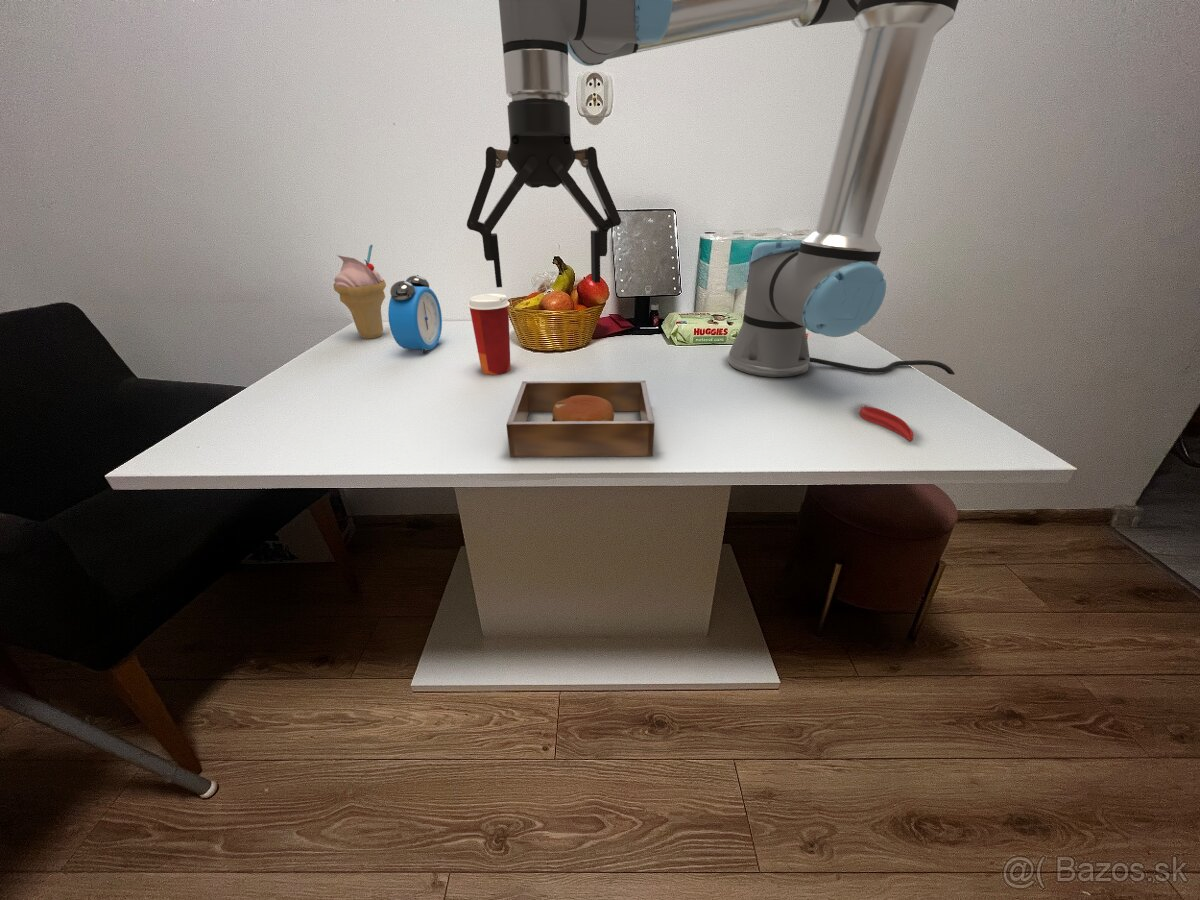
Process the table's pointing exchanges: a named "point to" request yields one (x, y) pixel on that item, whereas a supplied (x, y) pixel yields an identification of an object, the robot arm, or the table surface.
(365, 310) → the ice cream cone
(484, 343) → the paper cup
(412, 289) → the alarm clock
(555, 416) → the burger
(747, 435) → the table surface
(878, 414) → the cayenne pepper
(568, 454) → the wooden box
